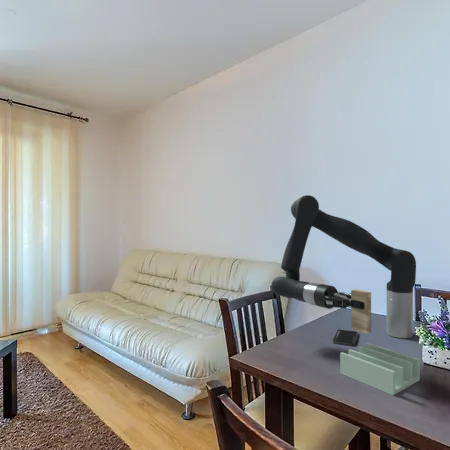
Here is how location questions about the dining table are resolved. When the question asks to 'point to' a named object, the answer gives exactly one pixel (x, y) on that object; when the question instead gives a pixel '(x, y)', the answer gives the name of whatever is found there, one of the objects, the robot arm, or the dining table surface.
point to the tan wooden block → (361, 312)
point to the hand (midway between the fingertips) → (366, 305)
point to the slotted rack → (380, 368)
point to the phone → (345, 337)
